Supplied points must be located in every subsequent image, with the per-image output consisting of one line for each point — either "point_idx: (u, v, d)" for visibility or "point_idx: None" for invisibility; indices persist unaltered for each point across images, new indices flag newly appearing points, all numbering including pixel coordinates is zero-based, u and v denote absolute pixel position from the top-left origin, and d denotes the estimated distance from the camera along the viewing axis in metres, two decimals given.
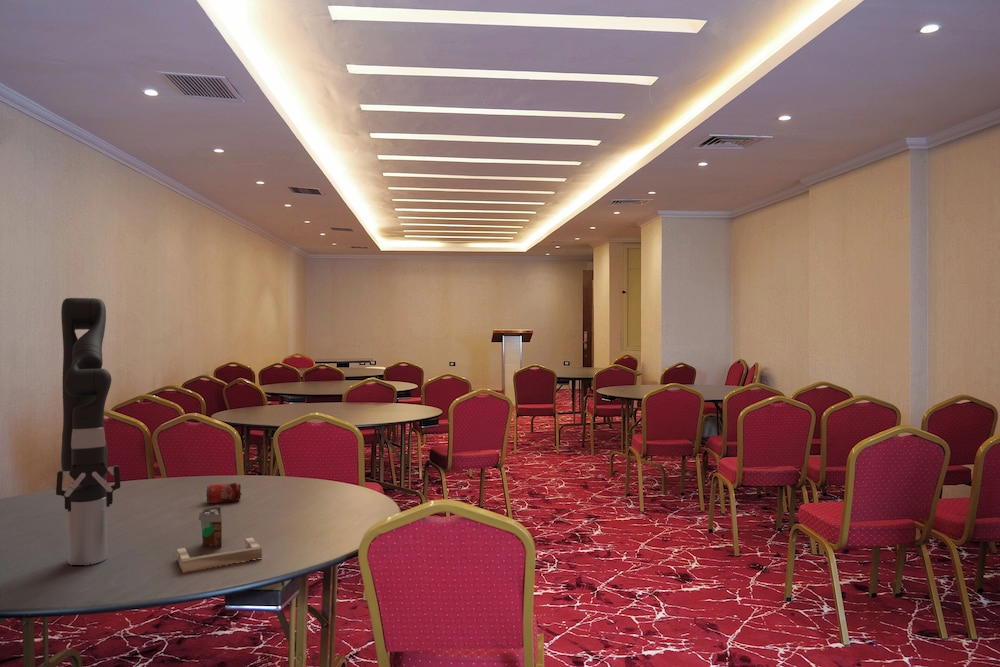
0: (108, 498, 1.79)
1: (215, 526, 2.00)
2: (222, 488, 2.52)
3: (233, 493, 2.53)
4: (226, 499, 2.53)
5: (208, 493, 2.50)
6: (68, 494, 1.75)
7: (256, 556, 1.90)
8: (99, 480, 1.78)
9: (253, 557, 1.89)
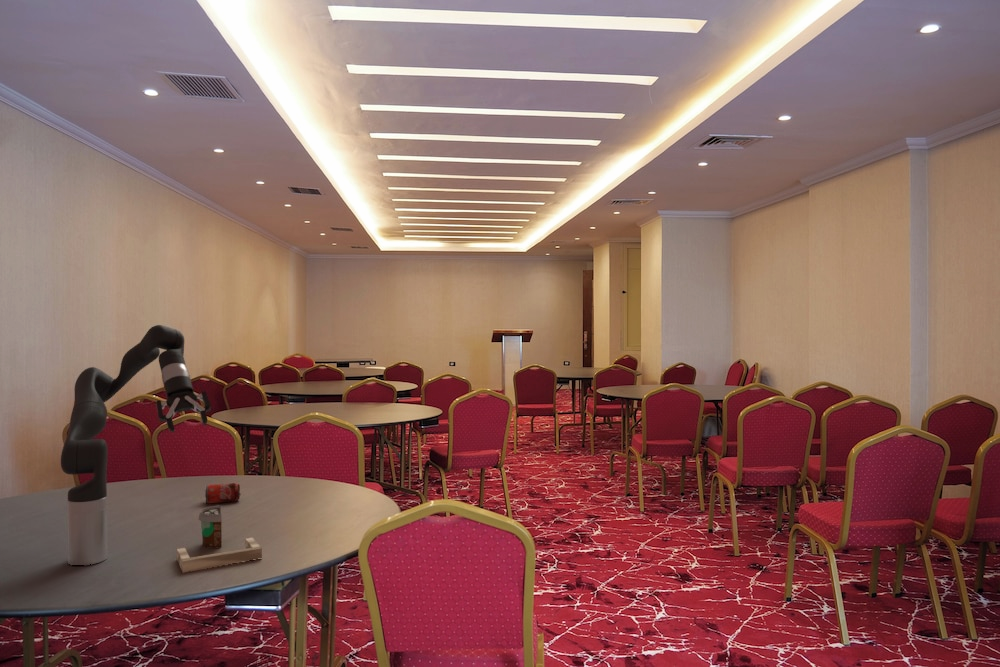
0: (203, 415, 2.04)
1: (215, 526, 2.00)
2: (221, 488, 2.52)
3: (232, 493, 2.52)
4: (225, 500, 2.52)
5: (207, 493, 2.50)
6: (169, 416, 2.00)
7: (256, 556, 1.90)
8: (192, 402, 2.05)
9: (253, 557, 1.89)
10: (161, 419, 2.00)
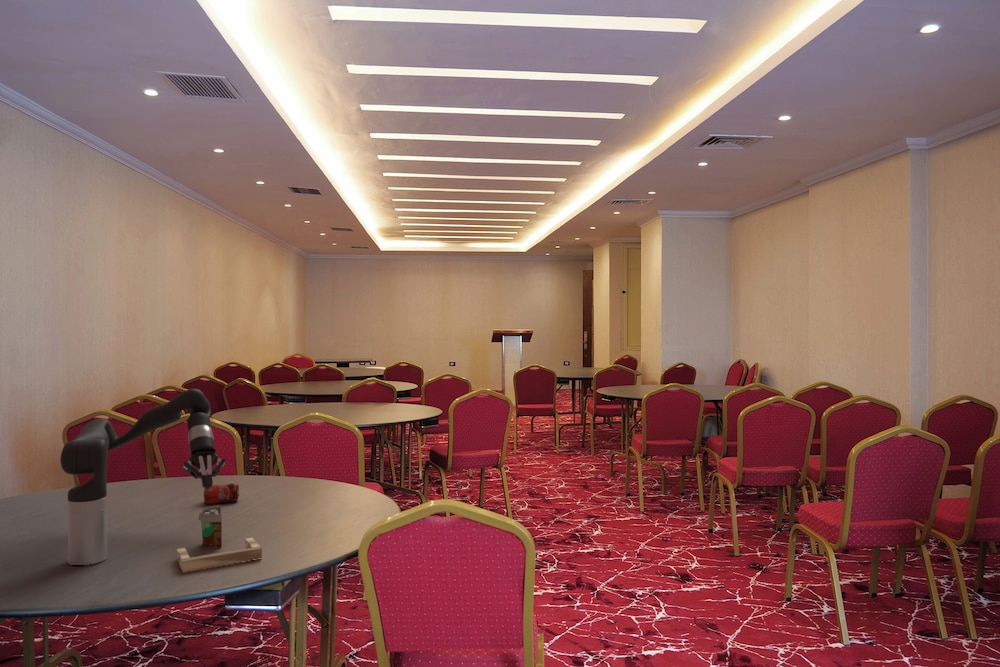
0: (209, 479, 2.14)
1: (215, 526, 2.00)
2: (219, 489, 2.52)
3: (230, 493, 2.52)
4: (224, 500, 2.52)
5: (205, 493, 2.50)
6: (204, 473, 2.15)
7: (256, 556, 1.90)
8: (208, 462, 2.18)
9: (253, 557, 1.89)
10: None
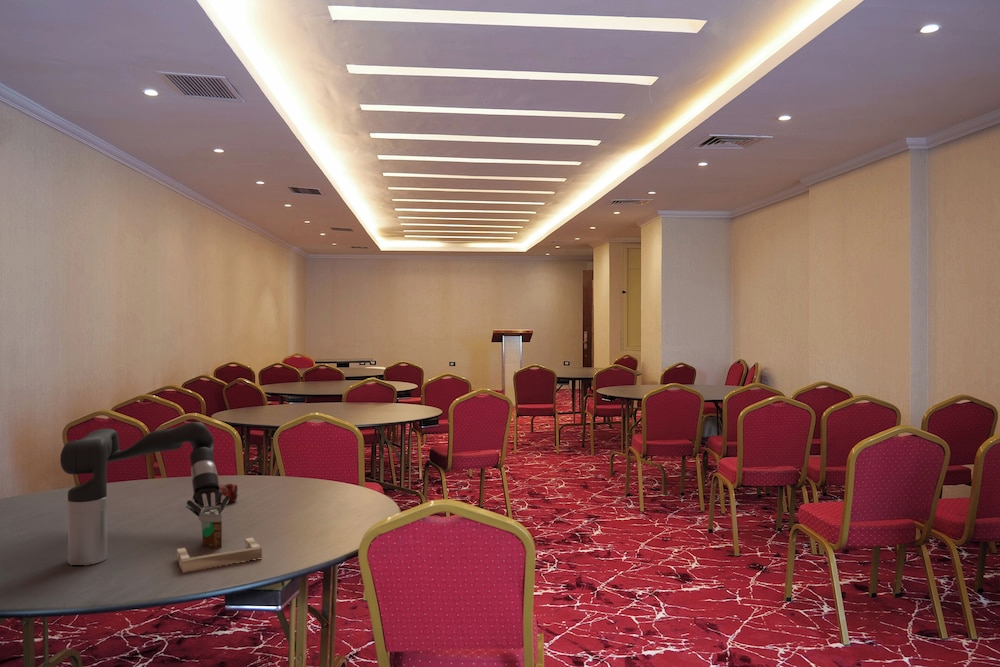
0: None
1: (215, 526, 2.00)
2: None
3: (229, 494, 2.52)
4: None
5: None
6: None
7: (256, 556, 1.90)
8: (212, 500, 2.12)
9: (253, 557, 1.89)
10: None
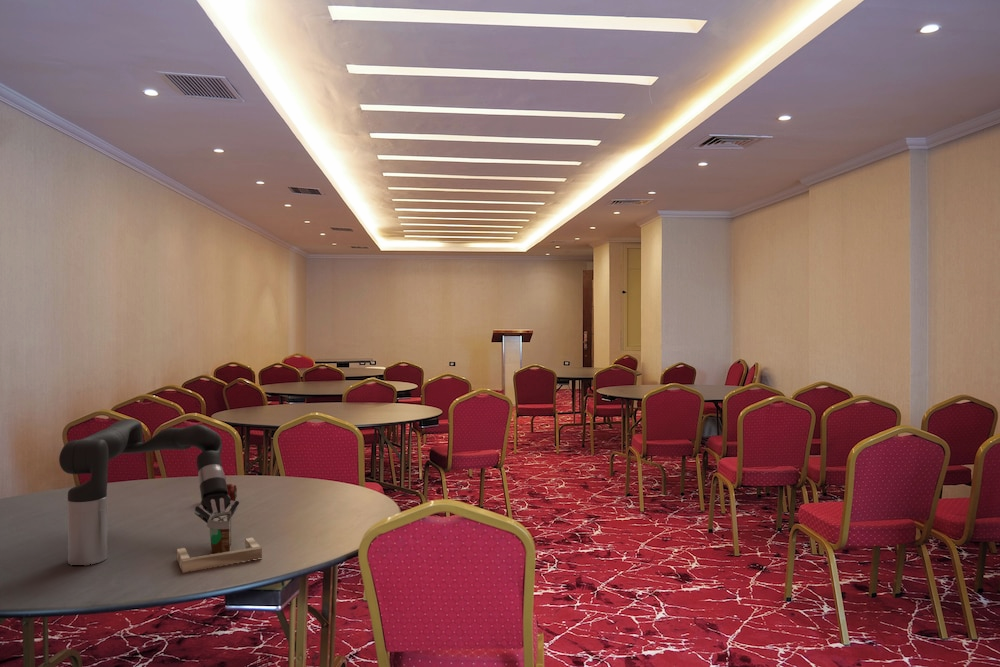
0: None
1: (223, 533, 1.93)
2: None
3: (228, 494, 2.51)
4: None
5: None
6: None
7: (256, 556, 1.90)
8: (221, 506, 2.05)
9: (253, 557, 1.89)
10: None
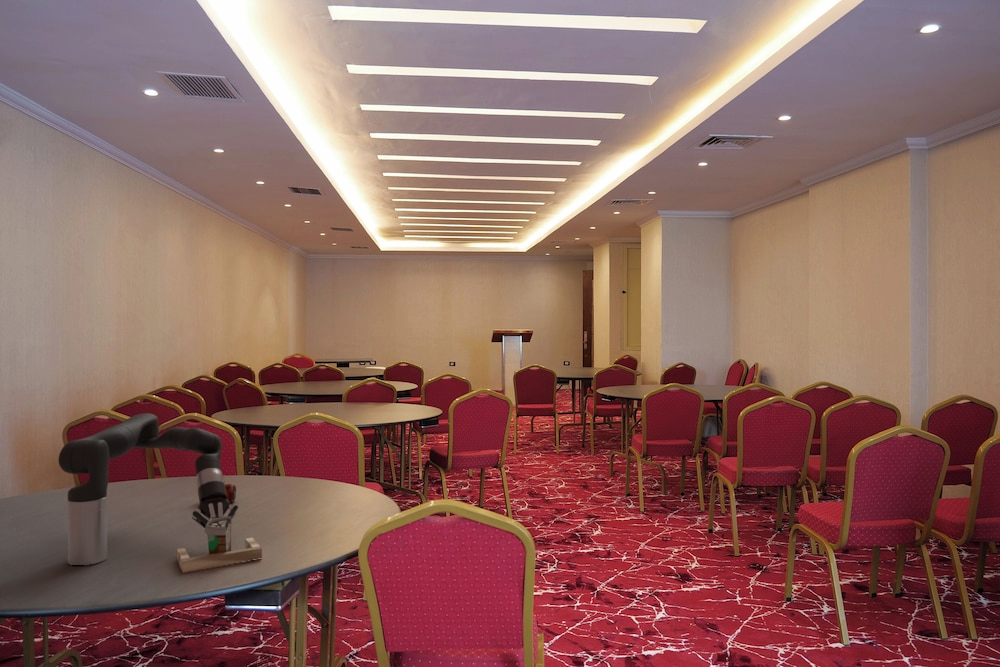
0: None
1: (220, 540, 1.87)
2: None
3: (227, 494, 2.51)
4: None
5: None
6: None
7: (256, 556, 1.90)
8: (219, 510, 1.99)
9: (253, 557, 1.89)
10: None
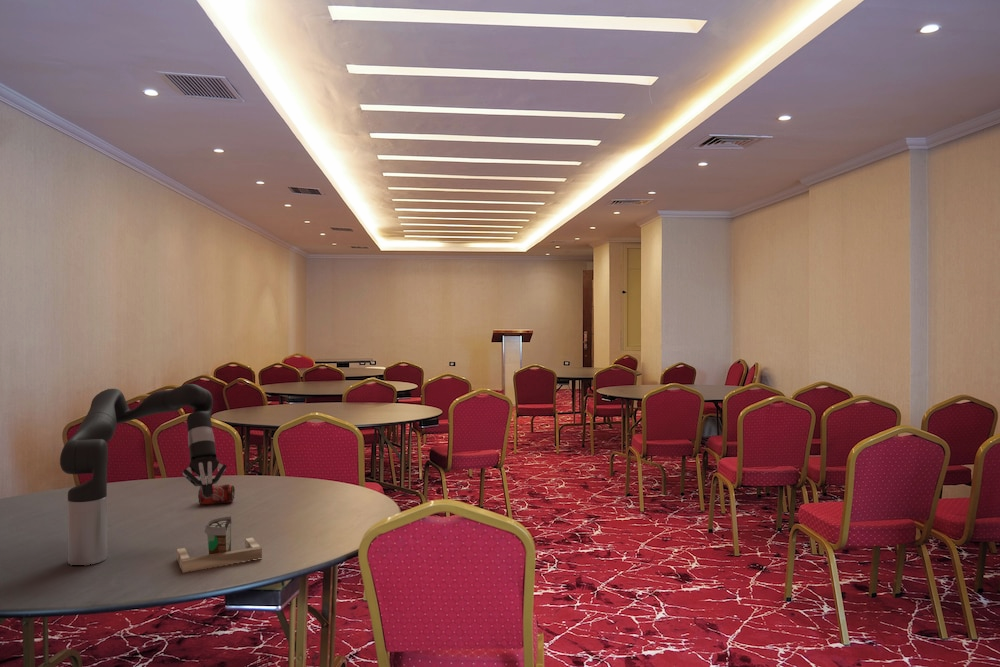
0: (209, 489, 2.07)
1: (220, 540, 1.87)
2: (214, 490, 2.50)
3: (225, 494, 2.50)
4: (218, 501, 2.50)
5: (200, 494, 2.49)
6: (205, 482, 2.08)
7: (256, 556, 1.90)
8: (208, 470, 2.10)
9: (253, 557, 1.89)
10: None
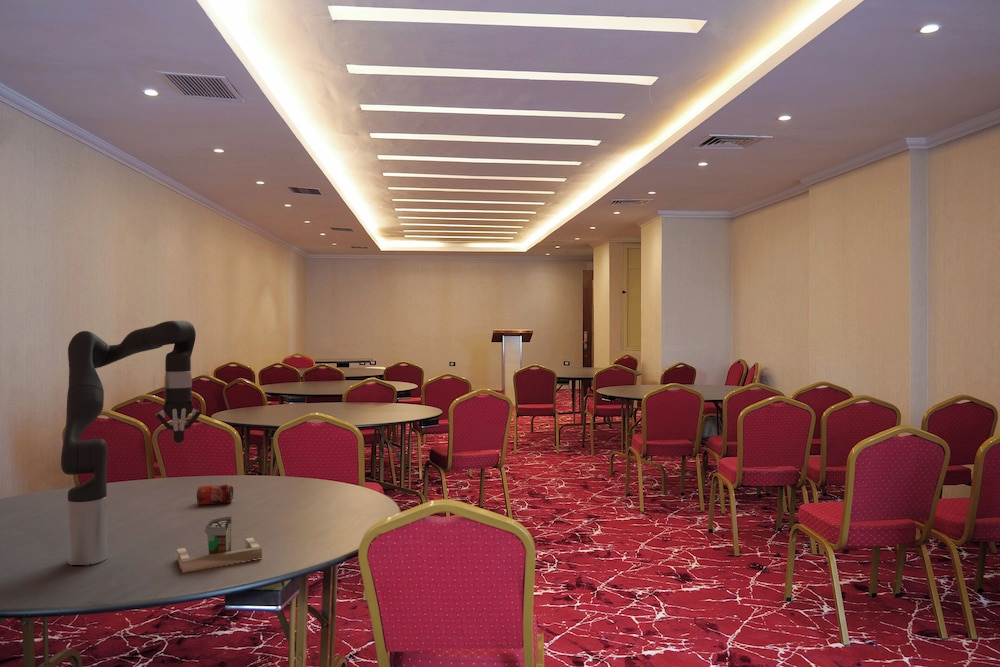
0: (180, 436, 2.10)
1: (220, 540, 1.87)
2: (212, 490, 2.50)
3: (223, 495, 2.50)
4: (217, 501, 2.50)
5: (198, 494, 2.48)
6: (176, 429, 2.09)
7: (256, 556, 1.90)
8: (182, 417, 2.09)
9: (253, 557, 1.89)
10: None
